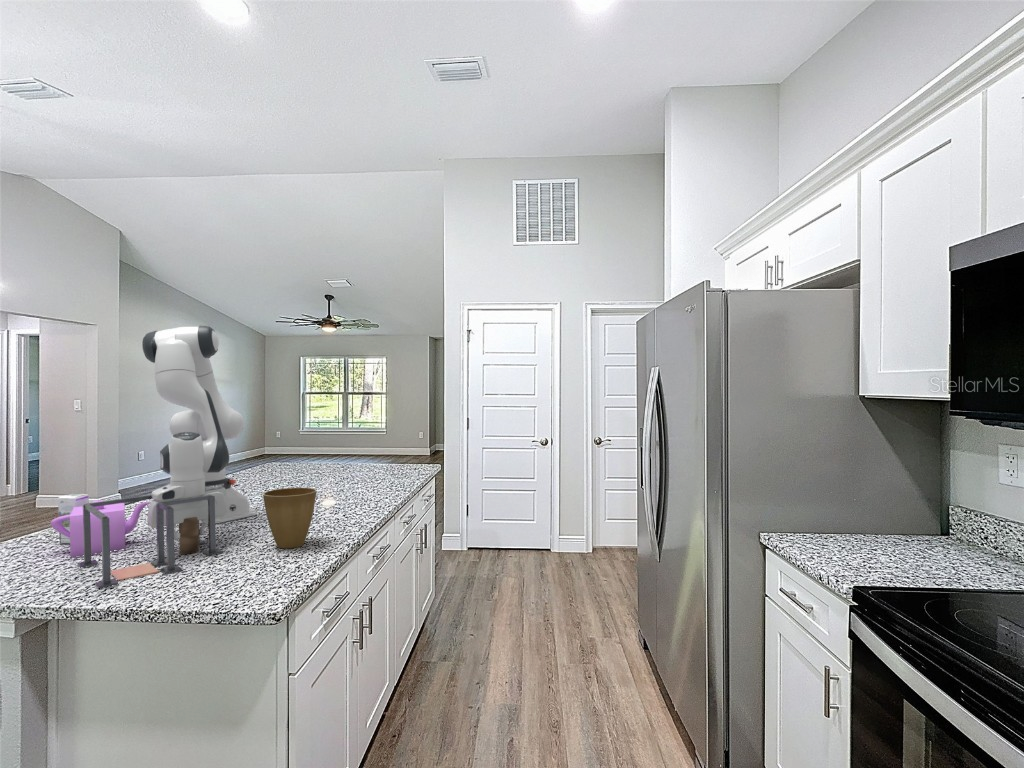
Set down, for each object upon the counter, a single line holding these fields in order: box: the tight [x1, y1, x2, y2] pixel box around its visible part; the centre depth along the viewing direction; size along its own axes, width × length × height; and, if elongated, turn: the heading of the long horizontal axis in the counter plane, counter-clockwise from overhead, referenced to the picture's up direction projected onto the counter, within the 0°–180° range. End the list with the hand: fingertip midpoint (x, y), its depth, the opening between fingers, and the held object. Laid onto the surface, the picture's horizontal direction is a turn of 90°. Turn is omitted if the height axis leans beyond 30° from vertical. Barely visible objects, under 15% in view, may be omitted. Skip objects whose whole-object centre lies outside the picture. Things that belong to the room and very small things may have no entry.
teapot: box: [50, 499, 151, 558], centre depth 179 cm, size 15×25×14 cm, turn 123°
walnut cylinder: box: [178, 517, 200, 555], centre depth 172 cm, size 5×5×10 cm
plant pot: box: [262, 487, 317, 549], centre depth 177 cm, size 15×15×16 cm
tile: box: [110, 562, 160, 582], centre depth 154 cm, size 9×10×1 cm
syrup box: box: [57, 493, 90, 545], centre depth 185 cm, size 6×6×14 cm
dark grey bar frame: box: [76, 494, 223, 589], centre depth 162 cm, size 31×27×16 cm
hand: (188, 537), depth 172 cm, fingers closed on walnut cylinder, 5 cm apart
